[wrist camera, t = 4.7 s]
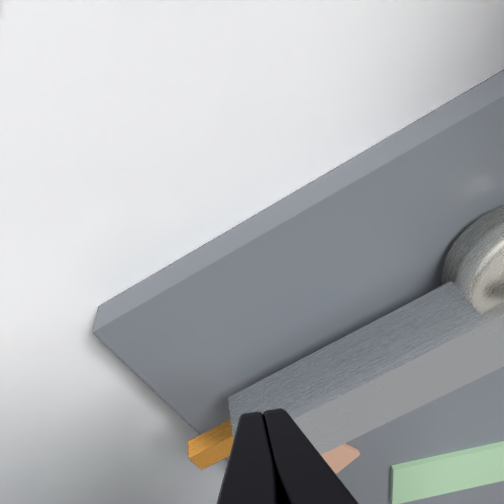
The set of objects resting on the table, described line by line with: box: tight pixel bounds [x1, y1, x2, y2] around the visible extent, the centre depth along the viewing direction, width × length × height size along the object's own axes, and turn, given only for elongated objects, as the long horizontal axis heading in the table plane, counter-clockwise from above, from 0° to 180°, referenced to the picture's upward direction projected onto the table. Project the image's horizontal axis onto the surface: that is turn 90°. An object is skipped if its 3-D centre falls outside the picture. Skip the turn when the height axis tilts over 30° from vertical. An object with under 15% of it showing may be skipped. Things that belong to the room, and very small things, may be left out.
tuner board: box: [93, 70, 504, 504], centre depth 16 cm, size 20×18×1 cm
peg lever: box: [188, 205, 504, 470], centre depth 13 cm, size 13×4×2 cm, turn 120°
